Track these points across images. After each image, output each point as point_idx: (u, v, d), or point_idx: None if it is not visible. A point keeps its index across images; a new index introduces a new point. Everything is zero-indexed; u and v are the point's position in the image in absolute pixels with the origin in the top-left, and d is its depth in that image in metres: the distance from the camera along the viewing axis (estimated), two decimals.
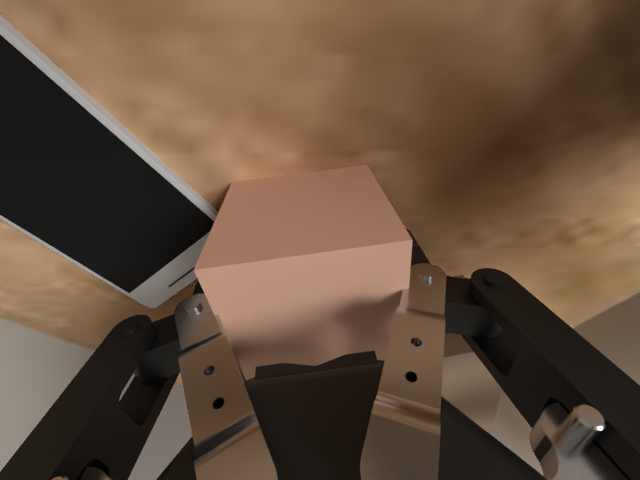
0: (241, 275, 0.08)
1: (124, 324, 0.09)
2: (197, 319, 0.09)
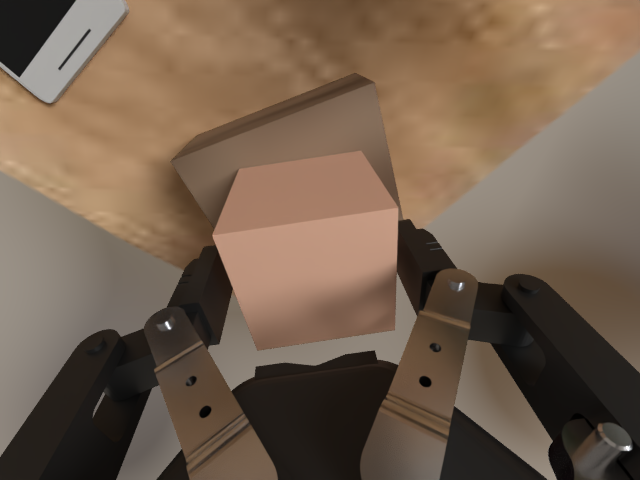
0: (252, 240, 0.10)
1: (90, 341, 0.09)
2: (171, 333, 0.09)
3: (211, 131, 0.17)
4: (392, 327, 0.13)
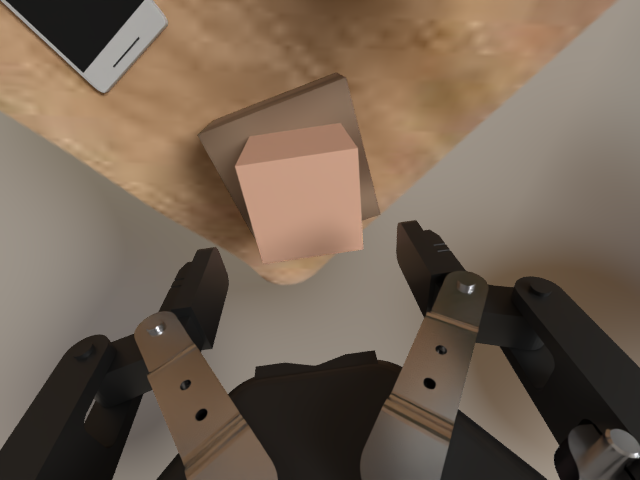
0: (261, 171, 0.15)
1: (78, 346, 0.08)
2: (162, 337, 0.09)
3: (225, 116, 0.22)
4: (361, 246, 0.17)
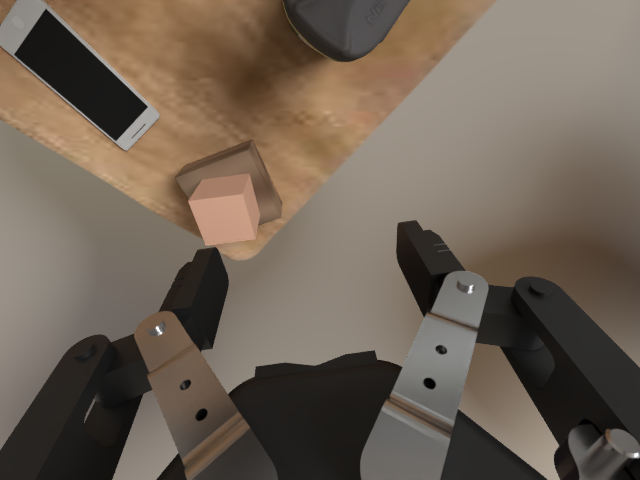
0: (200, 203, 0.33)
1: (78, 347, 0.08)
2: (162, 337, 0.09)
3: (191, 163, 0.40)
4: (254, 238, 0.36)
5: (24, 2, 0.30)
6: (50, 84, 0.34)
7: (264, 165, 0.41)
